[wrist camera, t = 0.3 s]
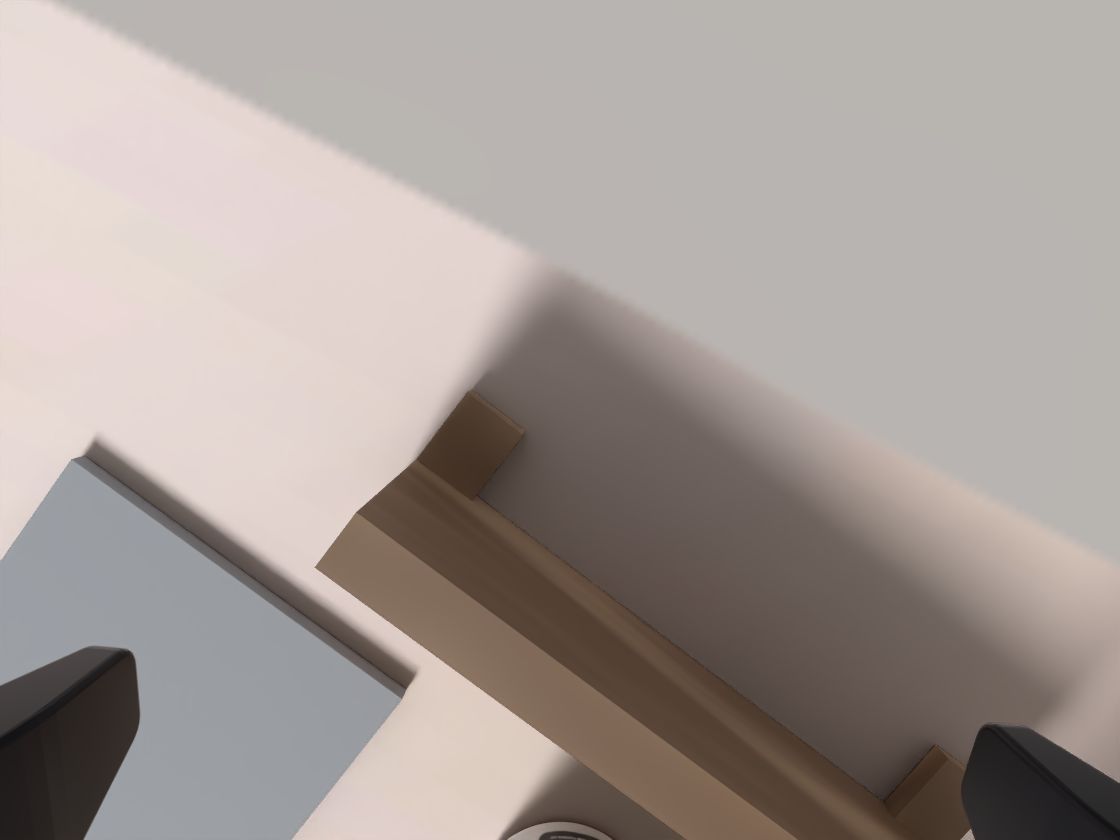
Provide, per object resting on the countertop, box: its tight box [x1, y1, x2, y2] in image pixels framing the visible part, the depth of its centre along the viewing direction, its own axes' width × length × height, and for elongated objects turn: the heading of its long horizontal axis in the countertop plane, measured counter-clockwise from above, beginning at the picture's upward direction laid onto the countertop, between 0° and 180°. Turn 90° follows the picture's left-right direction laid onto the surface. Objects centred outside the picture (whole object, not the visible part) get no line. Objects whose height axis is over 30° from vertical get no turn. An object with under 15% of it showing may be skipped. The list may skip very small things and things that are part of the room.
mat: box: [0, 456, 406, 840], centre depth 24 cm, size 12×12×1 cm
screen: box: [315, 390, 971, 840], centre depth 20 cm, size 4×20×7 cm, turn 52°
